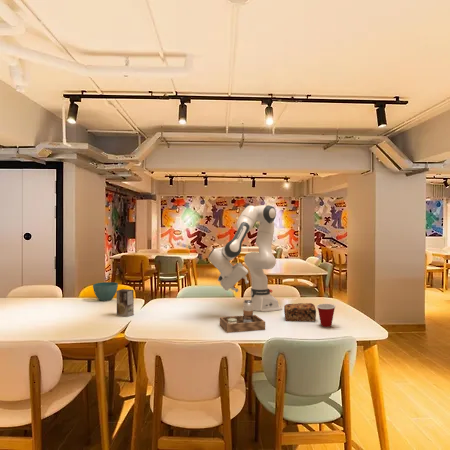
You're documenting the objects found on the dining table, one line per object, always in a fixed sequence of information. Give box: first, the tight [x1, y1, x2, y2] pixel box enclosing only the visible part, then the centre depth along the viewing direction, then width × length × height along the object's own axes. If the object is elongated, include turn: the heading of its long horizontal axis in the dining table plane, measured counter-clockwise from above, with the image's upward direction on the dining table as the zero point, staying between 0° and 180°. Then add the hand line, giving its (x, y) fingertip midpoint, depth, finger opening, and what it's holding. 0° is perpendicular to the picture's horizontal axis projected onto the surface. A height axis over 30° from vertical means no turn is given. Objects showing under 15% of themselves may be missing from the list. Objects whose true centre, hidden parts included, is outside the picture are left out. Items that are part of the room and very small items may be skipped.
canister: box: [242, 299, 254, 323], centre depth 219 cm, size 6×6×15 cm
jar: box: [228, 318, 237, 324], centre depth 213 cm, size 5×5×6 cm
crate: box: [219, 314, 266, 333], centre depth 217 cm, size 22×16×4 cm
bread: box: [283, 302, 317, 322], centre depth 234 cm, size 19×11×10 cm, turn 85°
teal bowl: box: [92, 281, 119, 302], centre depth 289 cm, size 18×18×12 cm
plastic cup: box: [316, 303, 336, 328], centre depth 220 cm, size 11×11×12 cm
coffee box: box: [116, 288, 135, 317], centre depth 243 cm, size 9×6×16 cm
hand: (242, 287), depth 238 cm, fingers open, 8 cm apart
